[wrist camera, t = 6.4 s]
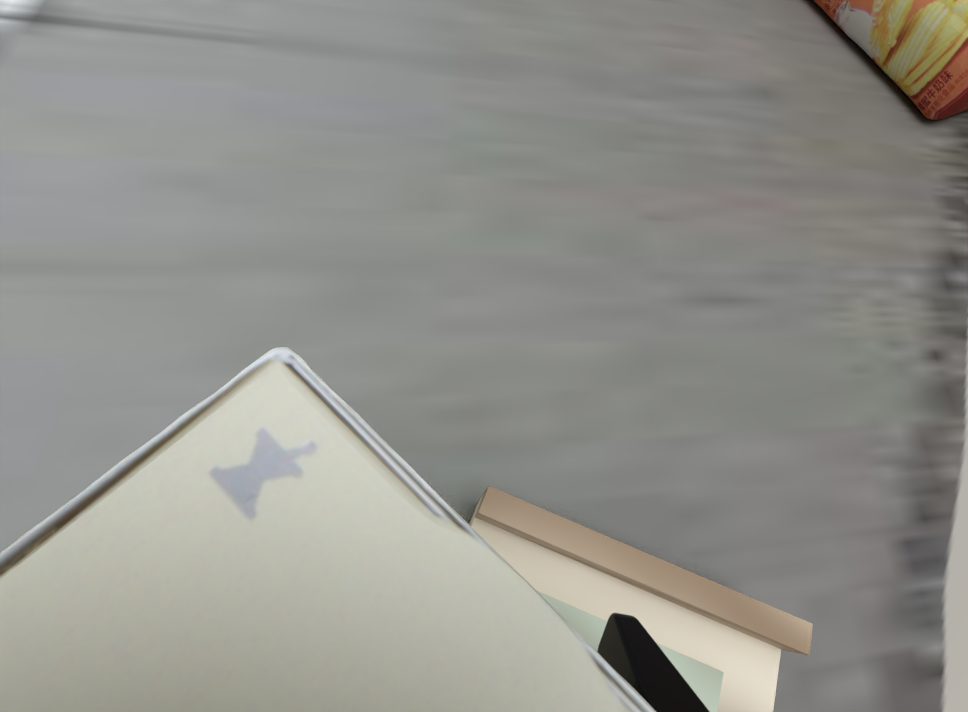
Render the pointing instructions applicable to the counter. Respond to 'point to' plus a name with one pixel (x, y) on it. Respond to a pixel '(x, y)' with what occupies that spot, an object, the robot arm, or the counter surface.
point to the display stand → (647, 602)
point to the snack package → (913, 46)
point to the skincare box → (279, 579)
